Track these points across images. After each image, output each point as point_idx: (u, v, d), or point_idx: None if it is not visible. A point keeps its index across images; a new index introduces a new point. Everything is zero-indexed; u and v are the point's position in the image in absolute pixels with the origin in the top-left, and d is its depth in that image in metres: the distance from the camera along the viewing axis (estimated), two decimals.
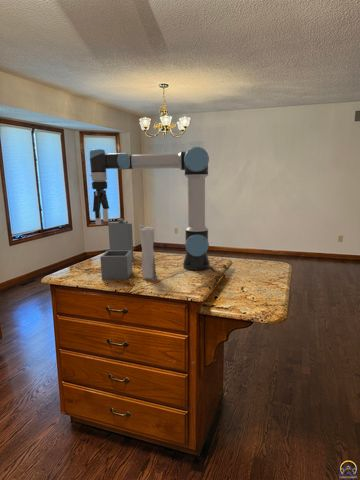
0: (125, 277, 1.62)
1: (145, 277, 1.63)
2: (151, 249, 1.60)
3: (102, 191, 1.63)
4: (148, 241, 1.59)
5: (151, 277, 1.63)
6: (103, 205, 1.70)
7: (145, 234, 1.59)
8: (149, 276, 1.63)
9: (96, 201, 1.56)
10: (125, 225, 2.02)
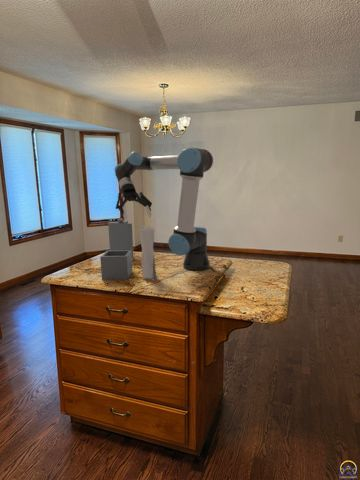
0: (125, 277, 1.62)
1: (145, 277, 1.63)
2: (151, 249, 1.60)
3: (131, 193, 1.75)
4: (148, 241, 1.59)
5: (151, 277, 1.63)
6: (143, 204, 1.76)
7: (145, 234, 1.59)
8: (149, 276, 1.63)
9: (117, 201, 1.70)
10: (125, 225, 2.02)
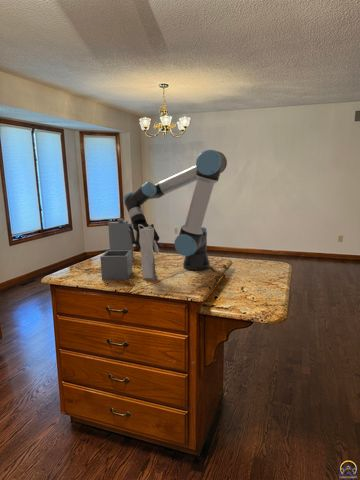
0: (125, 277, 1.62)
1: (145, 277, 1.63)
2: (151, 249, 1.60)
3: (141, 223, 1.67)
4: (148, 241, 1.59)
5: (151, 277, 1.63)
6: None
7: (145, 234, 1.58)
8: (149, 276, 1.63)
9: (131, 235, 1.62)
10: (125, 225, 2.02)
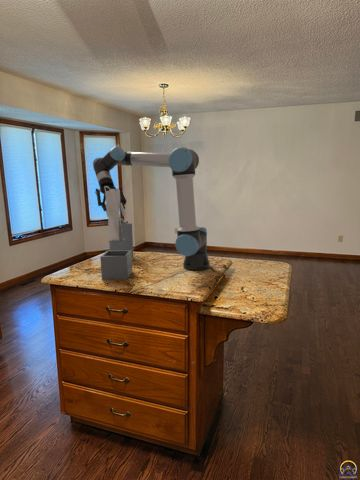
0: (125, 277, 1.62)
1: (111, 239, 1.64)
2: (117, 211, 1.61)
3: (109, 187, 1.68)
4: (113, 202, 1.60)
5: (117, 239, 1.64)
6: None
7: (110, 195, 1.59)
8: (116, 238, 1.64)
9: (97, 198, 1.62)
10: (125, 225, 2.02)
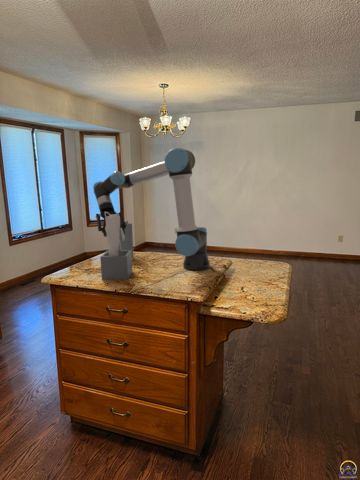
0: (125, 277, 1.62)
1: None
2: (117, 236, 1.64)
3: (109, 211, 1.71)
4: (113, 228, 1.63)
5: None
6: None
7: (110, 221, 1.62)
8: None
9: (98, 223, 1.65)
10: None
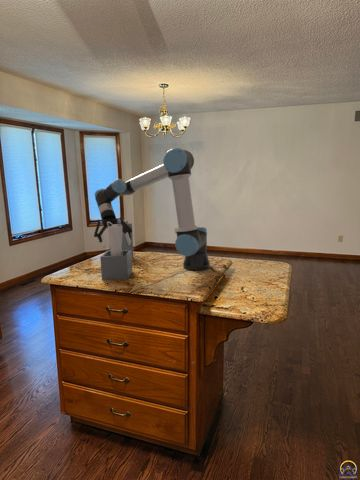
0: (125, 277, 1.62)
1: None
2: (119, 246, 1.65)
3: (110, 219, 1.71)
4: (116, 238, 1.64)
5: None
6: (123, 231, 1.71)
7: (113, 231, 1.63)
8: None
9: (96, 229, 1.66)
10: None
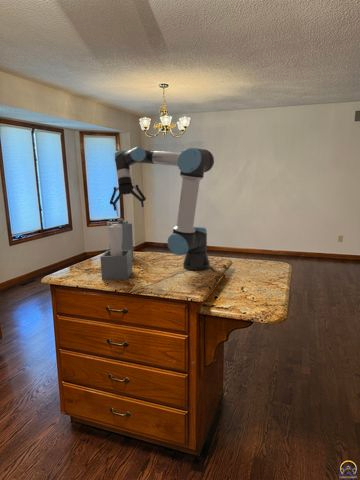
0: (125, 277, 1.62)
1: None
2: (119, 246, 1.65)
3: (126, 186, 1.81)
4: (116, 238, 1.64)
5: None
6: (138, 198, 1.83)
7: (113, 231, 1.63)
8: None
9: (112, 196, 1.80)
10: (125, 225, 2.02)
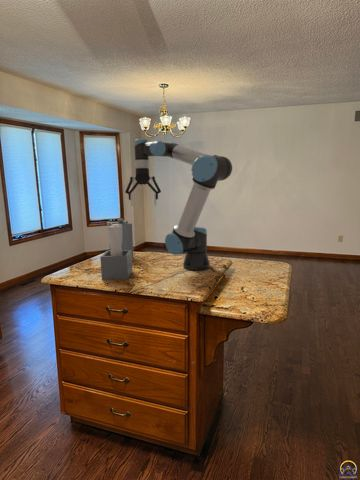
0: (125, 277, 1.62)
1: None
2: (119, 246, 1.65)
3: (143, 177, 1.81)
4: (116, 238, 1.64)
5: None
6: (153, 190, 1.84)
7: (113, 231, 1.63)
8: None
9: (128, 185, 1.83)
10: (125, 225, 2.02)
